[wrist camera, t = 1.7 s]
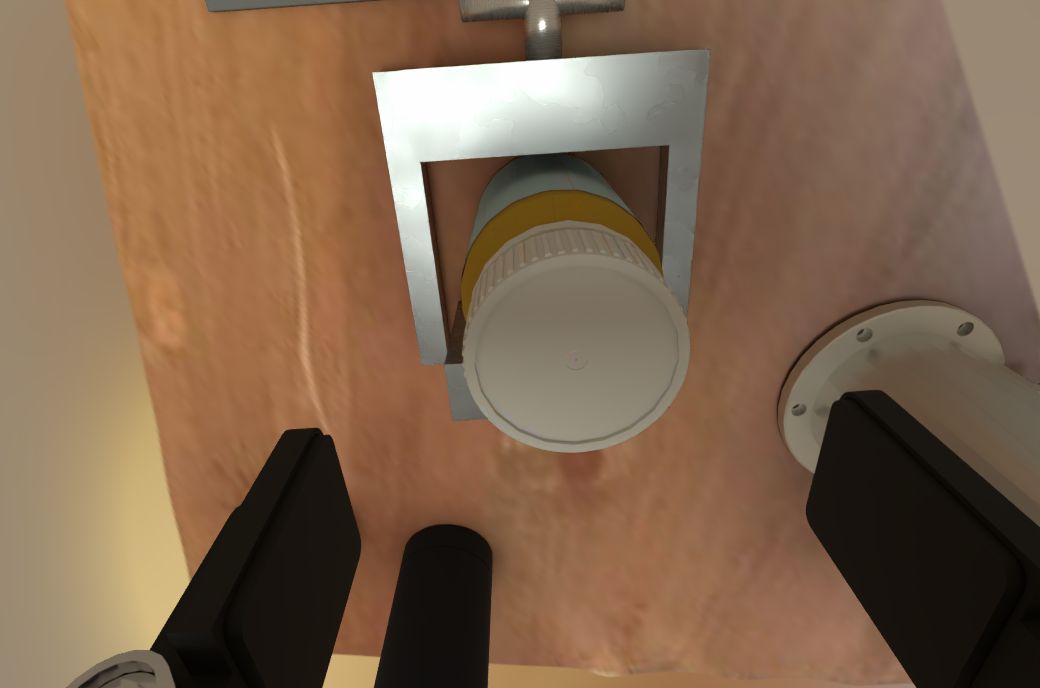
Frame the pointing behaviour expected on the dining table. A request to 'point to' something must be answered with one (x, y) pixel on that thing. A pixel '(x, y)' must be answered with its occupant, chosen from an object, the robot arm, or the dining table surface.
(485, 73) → the vise
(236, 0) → the mat
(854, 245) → the dining table surface
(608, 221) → the bottle
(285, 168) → the dining table surface
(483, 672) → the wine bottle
